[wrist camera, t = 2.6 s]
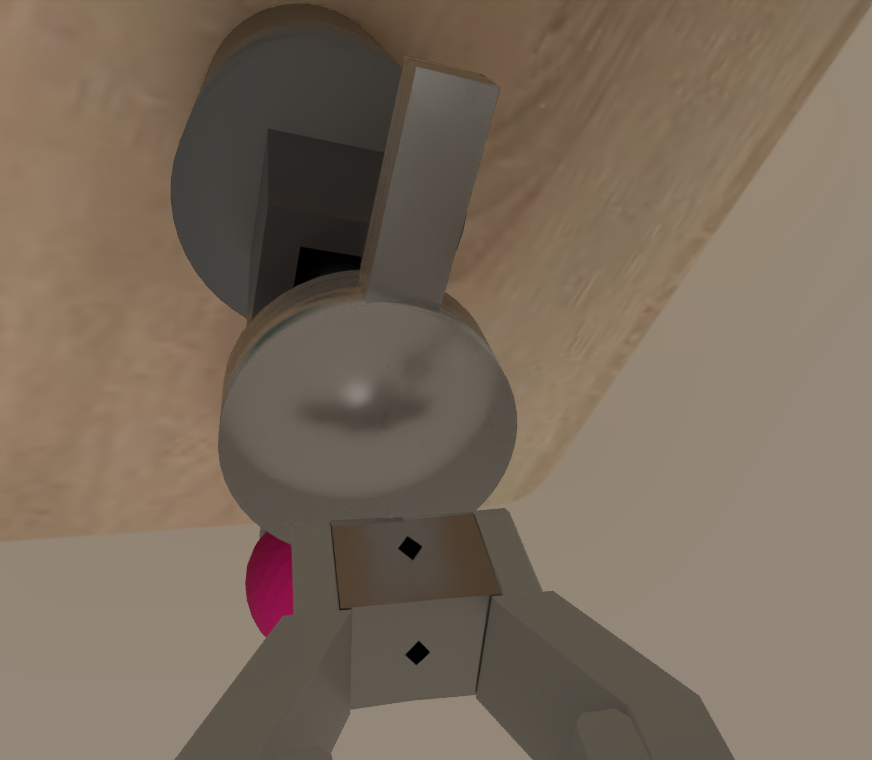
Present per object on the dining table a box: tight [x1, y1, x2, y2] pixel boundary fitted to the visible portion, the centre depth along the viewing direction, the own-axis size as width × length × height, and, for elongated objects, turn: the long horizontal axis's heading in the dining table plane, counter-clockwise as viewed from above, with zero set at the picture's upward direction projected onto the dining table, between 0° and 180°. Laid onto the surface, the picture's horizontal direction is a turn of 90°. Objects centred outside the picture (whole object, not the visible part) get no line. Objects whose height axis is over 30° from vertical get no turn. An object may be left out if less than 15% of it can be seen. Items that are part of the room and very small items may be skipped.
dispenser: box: [171, 4, 466, 326], centre depth 26 cm, size 9×9×21 cm
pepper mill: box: [245, 527, 293, 637], centre depth 34 cm, size 7×7×20 cm
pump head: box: [218, 56, 517, 544], centre depth 16 cm, size 8×5×9 cm, turn 166°
